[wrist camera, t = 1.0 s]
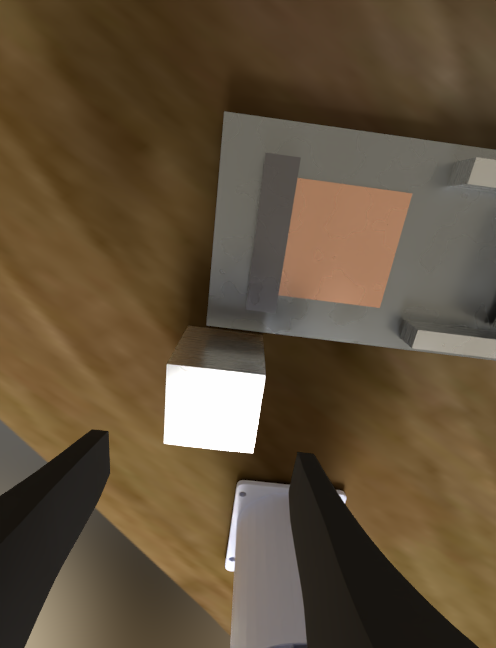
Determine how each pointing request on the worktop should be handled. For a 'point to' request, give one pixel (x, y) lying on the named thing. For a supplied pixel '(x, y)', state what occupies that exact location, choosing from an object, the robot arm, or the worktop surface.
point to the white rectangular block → (215, 389)
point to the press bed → (354, 237)
